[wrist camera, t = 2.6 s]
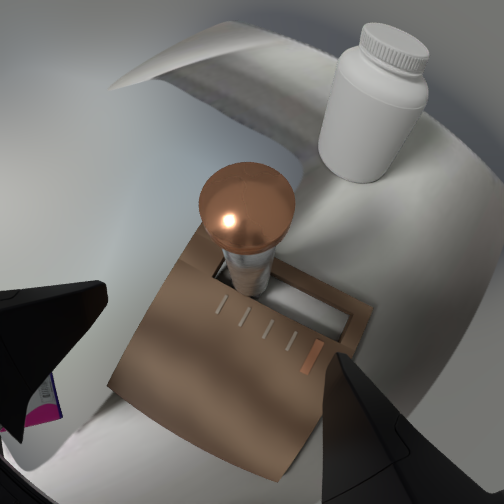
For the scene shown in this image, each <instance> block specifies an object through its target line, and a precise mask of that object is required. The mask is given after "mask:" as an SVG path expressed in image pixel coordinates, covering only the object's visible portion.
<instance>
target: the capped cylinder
mask: <svg viewBox="0 0 504 504" xmlns="http://www.w3.org/2000/svg"><path fill="white" fill-rule="evenodd" d="M294 211H295V197H294V193H293V190H292V187H291V186H290V184H289V182H288V181H287V179H286V178H285V177H284V176H283V175H282V174H280V173H279V172H278V171H276V170H275V169H273V168H271V167H269V166H266V165H264V164H260V163H254V162H241V163H235V164H232V165H228V166H226V167H224V168H222V169H220V170H219V171H217V172H216V173H215V174H213V175H212V176H211V177H210V178H209V179H208V180H207V182H206V183H205V185H204V186H203V189H202V191H201V193H200V197H199V212H200V216H201V219H202V221H203V224H204V227H205V229H206V231H207V233H208V235H209V236H210V238H211V239H212V240H213V241H214V242H215V243H216V244H217V245H218V246H219V247H221V248H222V250H223V254H224V257H225V260H226V263H227V266H228V269H229V272H230V275H231V279H232V285H233V286H234V287H235V289H236V290H237V291H238V292H239V293H241V294H242V295H245V296H254V297H255V298H257V299H259V297H260V295H261V293H262V292H263V291H264V290H265V289H266V287H267V285H268V282H269V278H270V273H271V268H272V264H273V259H274V254H275V249H276V245H277V244H279V243H280V242H281V241H282V240H283V238H284V237H285V236H286V234H287V233H288V230H289V228H290V225H291V222H292V218H293V214H294Z"/></svg>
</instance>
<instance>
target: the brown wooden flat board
mask: <svg viewBox="0 0 504 504" xmlns="http://www.w3.org/2000/svg"><path fill="white" fill-rule="evenodd" d="M224 261H225V257H224V254H223V250H222V248H221V247H219V246H218V245H217V244H216V243H215V242H214V241H213V240H212V239H211V238H210V236H209V235H208V233H207V231H206V229H205V227H204V224H203V221H202V223H201V225H200V226H199V227H198V229H197V231H196V232H195V234H194V235H193V237H192V238H191V240H190V241H189V243H188V245H187V246H186V248H185V249H184V251H183V253H182V254H181V256H180V257H179V259H178V260H177V262H176V264H175V265H174V267H173V268H172V270H171V272H170V274H169V275H168V277H167V278H166V280H165V282H164V283H163V285H162V287H161V288H160V290H159V292H158V293H157V295H156V297H155V299H154V300H153V302H152V304H151V305H150V307H149V309H148V310H147V312H146V314H145V316H144V317H143V319H142V321H141V323H140V324H139V326H138V328H137V330H136V331H135V333H134V335H133V337H132V339H131V340H130V343H129V345H128V346H127V348H126V350H125V351H124V354H123V355H122V357H121V359H120V361H119V363H118V365H117V367H116V369H115V370H114V372H113V374H112V376H111V378H110V380H109V382H108V384H107V387H109V388H110V389H111V390H112V391H114V392H115V393H116V394H117V395H119V396H120V397H121V398H123V399H124V400H125V401H127V402H128V403H129V404H131V405H132V406H133V407H135V408H136V409H138V410H139V411H141V412H142V413H143V414H145V415H146V416H148V417H149V418H151V419H152V420H154V421H155V422H157V423H158V424H160V425H161V426H163V427H165V428H166V429H168V430H169V431H171V432H173V433H174V434H176V435H178V436H179V437H181V438H183V439H184V440H186V441H188V442H190V443H192V444H193V445H195V446H197V447H199V448H201V449H203V450H204V451H206V452H208V453H210V454H212V455H214V456H216V457H218V458H220V459H222V460H224V461H226V462H229V463H231V464H233V465H235V466H237V467H240V468H242V469H244V470H246V471H249V472H251V473H254V474H256V475H259V476H261V477H264V478H266V479H269V480H272V481H274V482H277V483H278V481H279V480H280V479H281V477H282V476H283V474H284V473H285V472H286V470H287V469H288V467H289V466H290V464H291V463H292V462H293V460H294V459H295V457H296V456H297V454H298V453H299V451H300V450H301V448H302V447H303V445H304V444H305V442H306V440H307V439H308V437H309V436H310V434H311V432H312V431H313V429H314V427H315V426H316V424H317V422H318V421H319V419H320V417H321V416H322V414H323V411H322V404H323V394H324V384H325V374H326V369H327V366H328V364H329V363H330V361H331V359H332V357H333V355H334V354H335V353H336V352H341V353H345V354H347V355H348V356H349V357H350V358H351V359H352V357H353V354H354V352H355V350H356V348H357V346H358V344H359V341H360V339H361V337H362V335H363V332H364V330H365V328H366V325H367V323H368V320H369V318H370V316H371V313H372V311H373V307H371V306H369V305H367V304H365V303H363V302H361V301H359V300H357V299H355V298H353V297H351V296H350V295H348V294H346V293H344V292H342V291H340V290H338V289H336V288H334V287H332V286H330V285H328V284H326V283H324V282H322V281H320V280H318V279H316V278H314V277H312V276H310V275H308V274H306V273H305V272H303V271H301V270H299V269H297V268H295V267H293V266H291V265H289V264H287V263H285V262H283V261H281V260H279V259H277V258H275V257H274V259H273V264H272V268H271V273H270V275H271V276H273V277H275V278H277V279H279V280H281V281H283V282H285V283H287V284H289V285H291V286H293V287H295V288H297V289H299V290H301V291H303V292H305V293H307V294H308V295H310V296H312V297H314V298H316V299H318V300H320V301H322V302H324V303H326V304H328V305H330V306H332V307H334V308H336V309H338V310H340V311H342V312H344V313H346V314H348V315H350V316H349V319H348V321H347V323H346V325H345V328H344V330H343V332H342V334H341V336H340V338H339V340H338V342H336V341H334V340H332V339H330V338H328V337H326V336H324V335H322V334H320V333H318V332H316V331H314V330H312V329H310V328H308V327H306V326H304V325H302V324H300V323H298V322H296V321H294V320H292V319H290V318H288V317H286V316H284V315H282V314H280V313H278V312H276V311H274V310H272V309H270V308H268V307H267V306H265V305H263V304H261V303H259V302H257V301H255V300H253V299H251V298H249V297H248V296H245V295H242V294H241V293H239V292H238V291H236V290H235V289H233V288H231V287H229V286H227V285H225V284H223V283H222V282H220V281H218V280H216V279H214V278H215V276H216V275H217V273H218V271H219V269H220V268H221V266H222V264H223V262H224Z"/></svg>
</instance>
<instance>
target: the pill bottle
mask: <svg viewBox="0 0 504 504" xmlns="http://www.w3.org/2000/svg"><path fill="white" fill-rule="evenodd" d="M429 57H430V54H429V51H428V49H427V48H426V47H425V45H424V44H422V43H421V42H420V41H419V40H417V39H416V38H415V37H413V36H411V35H410V34H408V33H406V32H404V31H402V30H400V29H397V28H395V27H392V26H389V25H385V24H381V23H367V24H365V25H364V26H363V29H362V33H361V37H360V43H359V46H356V47H352V48H349V49H347V50H346V51H345V52H344V53H343V54H342V55H341V57H340V58H339V60H338V62H337V66H336V71H335V75H334V79H333V83H332V88H331V92H330V96H329V100H328V104H327V108H326V113H325V117H324V121H323V125H322V128H321V132H320V136H319V143H318V148H319V153H320V156H321V158H322V160H323V162H324V163H325V165H326V166H327V167H328V168H329V169H330V170H331V171H332V172H333V173H335V174H336V175H337V176H339V177H341V178H343V179H345V180H348V181H351V182H355V183H369V182H373V181H375V180H377V179H379V178H380V177H381V176H382V175H383V174H384V173H385V172H386V171H387V169H388V168H389V166H390V165H391V163H392V161H393V160H394V158H395V157H396V155H397V153H398V152H399V150H400V149H401V147H402V145H403V144H404V142H405V140H406V139H407V137H408V135H409V134H410V132H411V130H412V129H413V127H414V125H415V123H416V122H417V120H418V118H419V116H420V115H421V113H422V111H423V109H424V108H425V106H426V104H427V101H428V94H429V93H428V86H427V84H426V81H425V79H424V77H423V76H422V75H423V72H424V69H425V66H426V64H427V62H428V60H429Z"/></svg>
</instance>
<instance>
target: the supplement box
mask: <svg viewBox="0 0 504 504" xmlns="http://www.w3.org/2000/svg"><path fill="white" fill-rule="evenodd" d="M61 418H63V415H62V411H61V408H60V404H59V400H58V396H57V392H56V388H55V383H54V378H53V374H52V372H51V374H50V375H49V376H48V377H47V378H46V380H45V381H44V382H43V383H42V385H41V386H40V387H39V388H38V389H37V391H36V392H35V393H34V394H33V396H32V397H31V399H30V401H29V403H28V408H27V413H26V420H25V427H29V426H34V425H38V424H42V423H46V422H50V421H54V420H58V419H61ZM4 431H6V430H5V429H4V428H2V430H1V431H0V432H4Z"/></svg>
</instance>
